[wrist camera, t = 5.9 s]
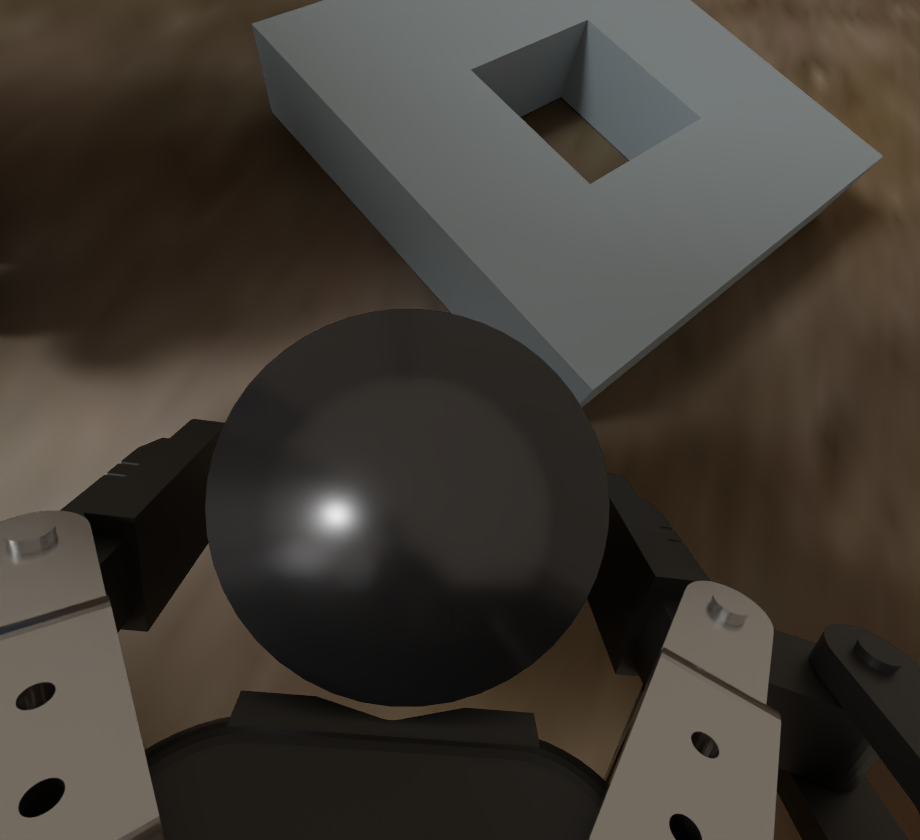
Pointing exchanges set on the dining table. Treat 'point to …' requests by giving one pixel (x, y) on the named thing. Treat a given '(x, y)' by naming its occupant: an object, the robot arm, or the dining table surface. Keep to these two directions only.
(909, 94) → the dining table surface
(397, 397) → the metal cylinder
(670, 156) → the holder
